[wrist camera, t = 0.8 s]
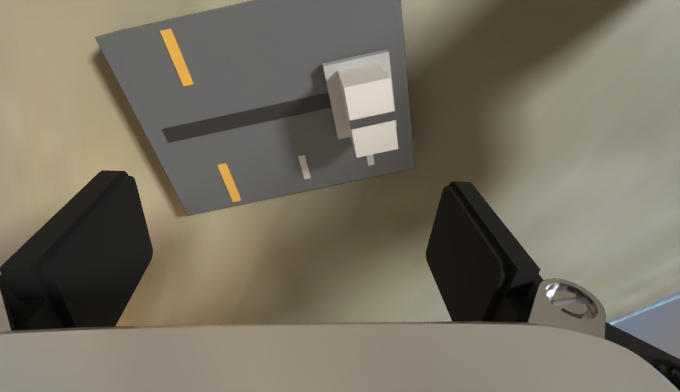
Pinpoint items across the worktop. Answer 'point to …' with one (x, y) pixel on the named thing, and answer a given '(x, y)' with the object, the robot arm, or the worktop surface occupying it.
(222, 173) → the console
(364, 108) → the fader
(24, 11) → the worktop surface
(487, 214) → the robot arm
